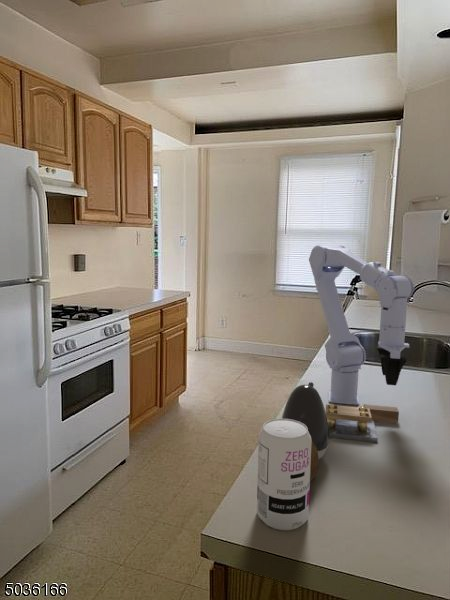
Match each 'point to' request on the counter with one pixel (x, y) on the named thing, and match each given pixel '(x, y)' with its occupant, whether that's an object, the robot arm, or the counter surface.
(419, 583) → the counter surface
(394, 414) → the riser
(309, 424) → the dark grey tall dome
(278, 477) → the supplement can
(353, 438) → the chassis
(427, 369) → the counter surface
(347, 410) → the wooden frame
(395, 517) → the counter surface
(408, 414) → the counter surface
